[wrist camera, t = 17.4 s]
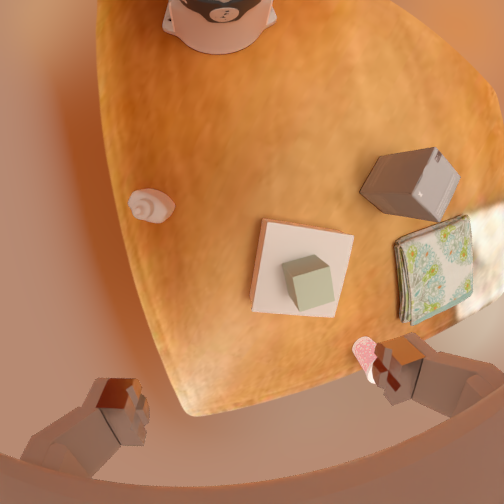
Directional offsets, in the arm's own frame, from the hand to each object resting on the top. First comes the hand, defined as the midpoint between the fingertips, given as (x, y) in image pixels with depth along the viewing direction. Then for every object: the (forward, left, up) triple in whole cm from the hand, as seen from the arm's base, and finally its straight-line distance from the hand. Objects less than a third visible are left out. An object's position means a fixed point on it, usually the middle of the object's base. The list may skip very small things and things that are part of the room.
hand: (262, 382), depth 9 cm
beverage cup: (+28, +24, -37) cm, 52 cm away
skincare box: (-4, +27, -37) cm, 46 cm away
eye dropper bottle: (-4, -10, -37) cm, 39 cm away
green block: (+8, +10, -32) cm, 34 cm away
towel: (+13, +41, -38) cm, 57 cm away
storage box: (+8, +10, -38) cm, 40 cm away
